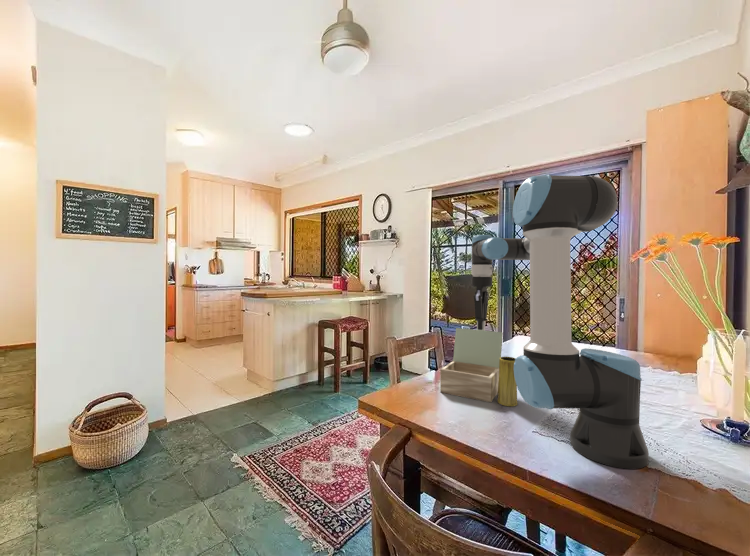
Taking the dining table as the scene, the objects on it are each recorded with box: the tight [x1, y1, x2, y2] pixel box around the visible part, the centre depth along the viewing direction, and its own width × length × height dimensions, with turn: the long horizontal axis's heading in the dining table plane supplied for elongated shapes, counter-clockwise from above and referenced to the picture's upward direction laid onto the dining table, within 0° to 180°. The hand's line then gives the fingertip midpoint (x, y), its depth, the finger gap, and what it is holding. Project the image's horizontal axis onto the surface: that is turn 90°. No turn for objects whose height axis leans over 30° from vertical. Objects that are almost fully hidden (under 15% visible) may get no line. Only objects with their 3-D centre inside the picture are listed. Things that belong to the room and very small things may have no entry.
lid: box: [452, 327, 504, 368], centre depth 126 cm, size 12×17×1 cm
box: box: [439, 360, 499, 403], centre depth 119 cm, size 13×17×8 cm
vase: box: [496, 356, 518, 407], centre depth 109 cm, size 6×6×14 cm
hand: (480, 337), depth 130 cm, fingers closed
